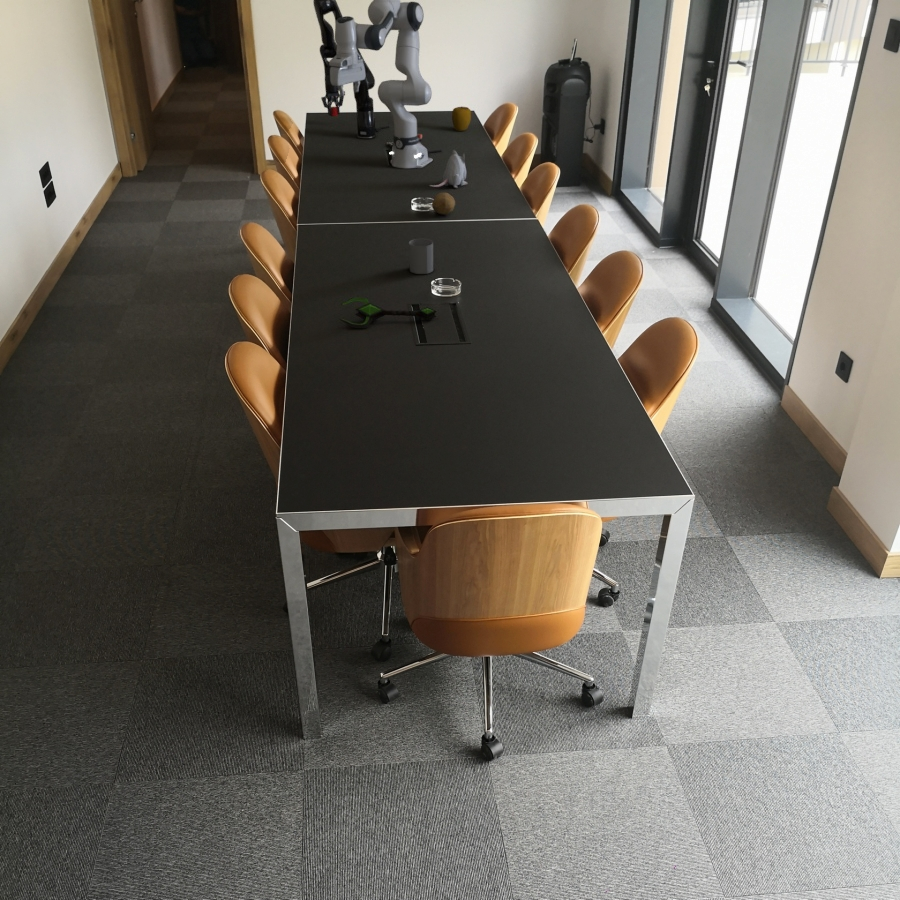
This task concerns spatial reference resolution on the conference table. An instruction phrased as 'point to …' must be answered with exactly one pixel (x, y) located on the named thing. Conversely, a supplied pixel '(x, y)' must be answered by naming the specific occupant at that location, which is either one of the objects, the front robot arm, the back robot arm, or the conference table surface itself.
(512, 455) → the conference table surface
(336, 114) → the tin
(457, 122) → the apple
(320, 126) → the conference table surface
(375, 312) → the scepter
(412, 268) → the cup
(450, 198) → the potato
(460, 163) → the toy
